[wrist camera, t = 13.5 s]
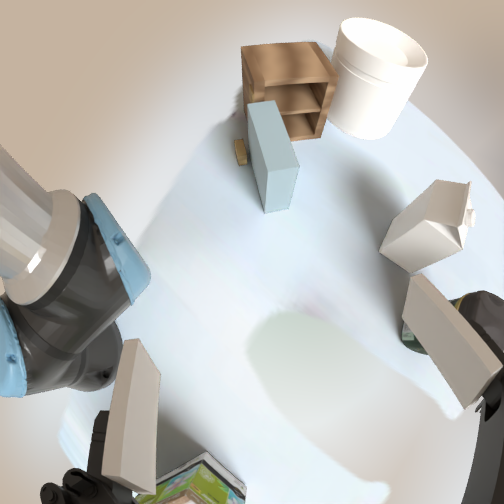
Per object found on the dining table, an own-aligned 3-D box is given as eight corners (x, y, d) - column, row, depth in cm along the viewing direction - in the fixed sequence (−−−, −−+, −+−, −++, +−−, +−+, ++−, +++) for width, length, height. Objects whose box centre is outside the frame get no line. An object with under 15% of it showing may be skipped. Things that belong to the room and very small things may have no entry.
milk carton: (377, 252, 44) (440, 206, 26) (392, 219, 46) (451, 164, 27) (409, 274, 43) (481, 241, 25) (422, 240, 45) (489, 197, 26)
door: (264, 213, 46) (267, 171, 34) (248, 153, 49) (247, 104, 37) (288, 208, 46) (299, 166, 34) (270, 150, 49) (274, 100, 37)
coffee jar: (447, 315, 41) (521, 301, 23) (436, 358, 39) (511, 362, 21) (406, 299, 42) (479, 279, 24) (394, 346, 40) (467, 349, 22)
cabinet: (238, 165, 48) (232, 102, 33) (226, 112, 52) (218, 49, 36) (326, 152, 49) (348, 91, 34) (304, 102, 53) (315, 42, 37)
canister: (403, 122, 52) (441, 60, 33) (361, 151, 49) (400, 77, 30) (352, 79, 55) (374, 14, 36) (305, 101, 53) (320, 23, 34)
